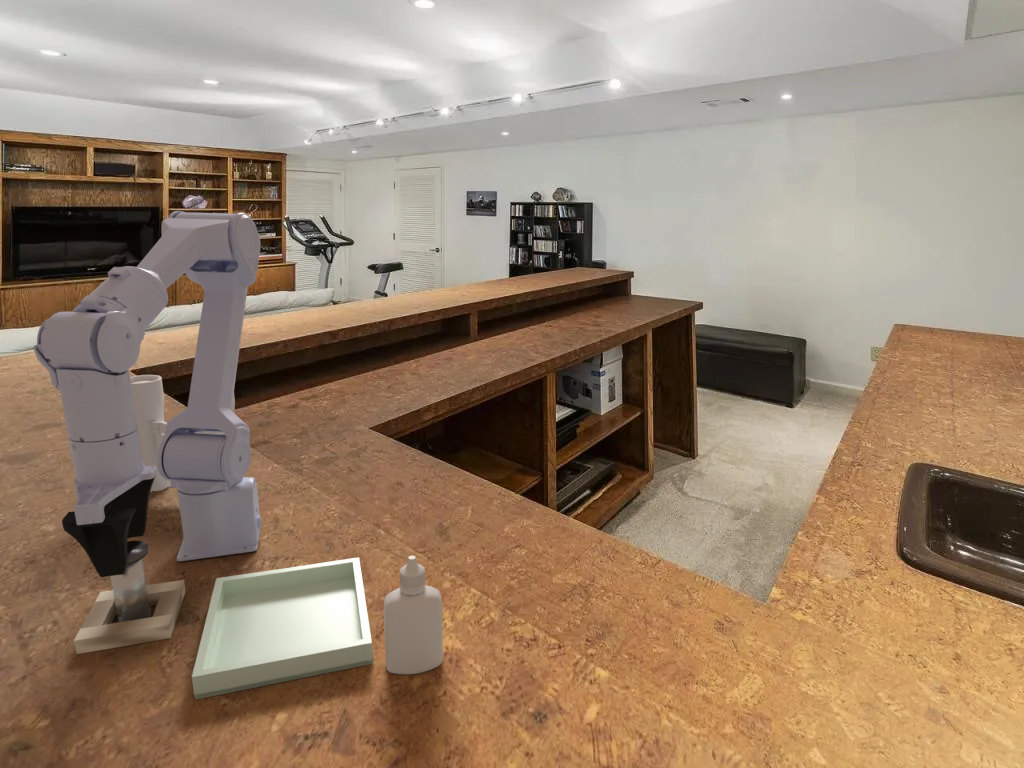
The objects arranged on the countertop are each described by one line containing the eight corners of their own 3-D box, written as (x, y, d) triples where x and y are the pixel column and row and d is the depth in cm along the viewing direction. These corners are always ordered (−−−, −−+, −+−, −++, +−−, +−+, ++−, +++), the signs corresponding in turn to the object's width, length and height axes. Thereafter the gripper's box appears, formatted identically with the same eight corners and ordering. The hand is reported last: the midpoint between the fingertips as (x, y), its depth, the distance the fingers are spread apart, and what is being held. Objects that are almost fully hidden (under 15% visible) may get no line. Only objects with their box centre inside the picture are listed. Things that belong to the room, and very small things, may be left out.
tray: (359, 575, 74) (359, 557, 73) (372, 663, 59) (371, 642, 59) (218, 597, 69) (216, 578, 68) (194, 699, 55) (191, 677, 54)
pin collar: (185, 591, 70) (184, 579, 70) (170, 638, 62) (168, 625, 62) (102, 604, 67) (100, 591, 67) (76, 654, 60) (73, 640, 59)
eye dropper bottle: (398, 642, 63) (395, 541, 59) (448, 653, 61) (447, 550, 58) (378, 671, 58) (374, 564, 55) (431, 684, 57) (430, 575, 54)
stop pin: (162, 604, 68) (152, 538, 65) (153, 629, 63) (142, 559, 61) (118, 611, 66) (106, 543, 64) (105, 637, 62) (92, 566, 60)
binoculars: (129, 492, 94) (111, 382, 89) (152, 477, 100) (137, 373, 95) (232, 499, 93) (220, 388, 88) (250, 484, 98) (240, 379, 93)
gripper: (130, 455, 54) (150, 586, 57) (165, 407, 67) (179, 517, 70) (36, 463, 51) (63, 599, 55) (92, 412, 65) (111, 524, 68)
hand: (123, 553), depth 63 cm, fingers open, 7 cm apart
